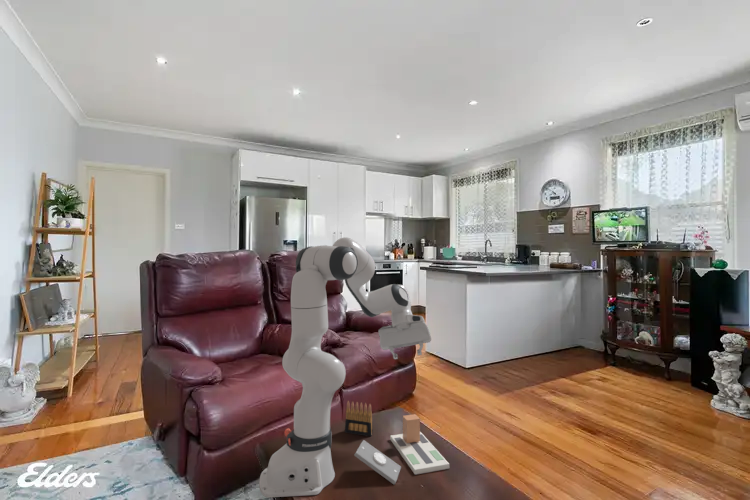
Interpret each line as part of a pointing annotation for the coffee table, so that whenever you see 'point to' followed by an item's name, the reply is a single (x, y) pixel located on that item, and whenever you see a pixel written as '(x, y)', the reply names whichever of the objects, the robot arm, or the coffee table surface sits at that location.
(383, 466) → the light switch
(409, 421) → the tan rectangular block
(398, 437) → the switch board
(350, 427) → the ammunition clip
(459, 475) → the coffee table surface
